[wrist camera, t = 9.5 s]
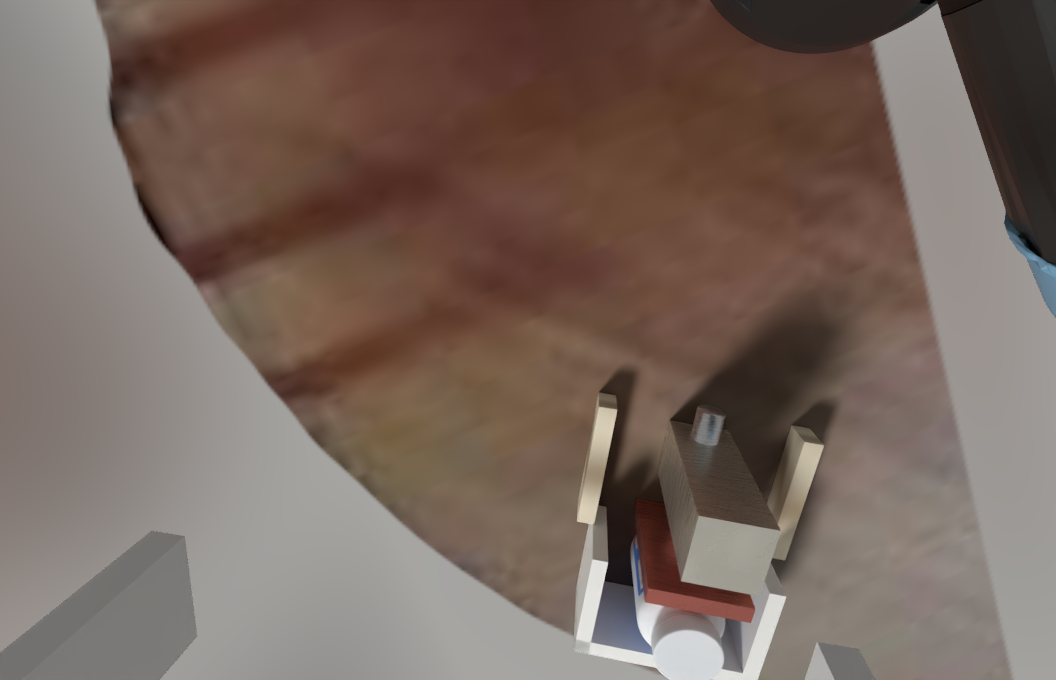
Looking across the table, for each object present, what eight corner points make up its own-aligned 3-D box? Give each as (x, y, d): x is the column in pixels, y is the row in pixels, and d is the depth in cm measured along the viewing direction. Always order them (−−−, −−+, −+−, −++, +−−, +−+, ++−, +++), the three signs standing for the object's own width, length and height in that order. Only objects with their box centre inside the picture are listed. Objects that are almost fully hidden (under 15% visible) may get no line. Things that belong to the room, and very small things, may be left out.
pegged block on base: (660, 390, 37) (687, 477, 26) (750, 406, 36) (814, 499, 26) (633, 510, 40) (647, 630, 29) (716, 525, 39) (761, 652, 29)
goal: (592, 504, 40) (592, 559, 34) (758, 535, 39) (786, 596, 33) (576, 586, 42) (573, 650, 37) (732, 617, 41) (754, 688, 36)
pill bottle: (696, 584, 41) (725, 704, 32) (624, 572, 41) (633, 687, 32) (711, 523, 39) (747, 630, 30) (636, 511, 40) (649, 613, 30)
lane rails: (598, 392, 37) (599, 406, 35) (809, 428, 36) (824, 445, 34) (577, 501, 40) (576, 521, 38) (773, 537, 39) (785, 560, 37)
